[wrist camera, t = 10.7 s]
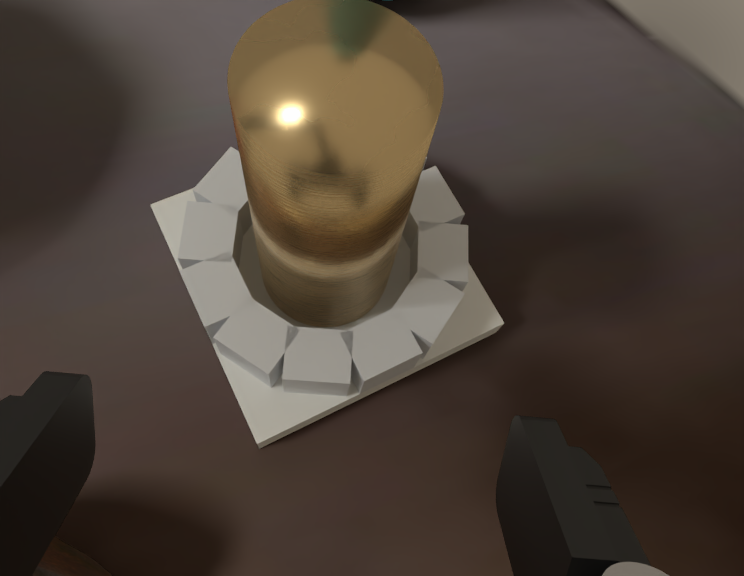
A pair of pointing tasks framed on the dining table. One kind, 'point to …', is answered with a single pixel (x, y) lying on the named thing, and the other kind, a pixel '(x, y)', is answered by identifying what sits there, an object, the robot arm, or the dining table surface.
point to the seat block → (310, 343)
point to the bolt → (67, 562)
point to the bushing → (331, 148)
